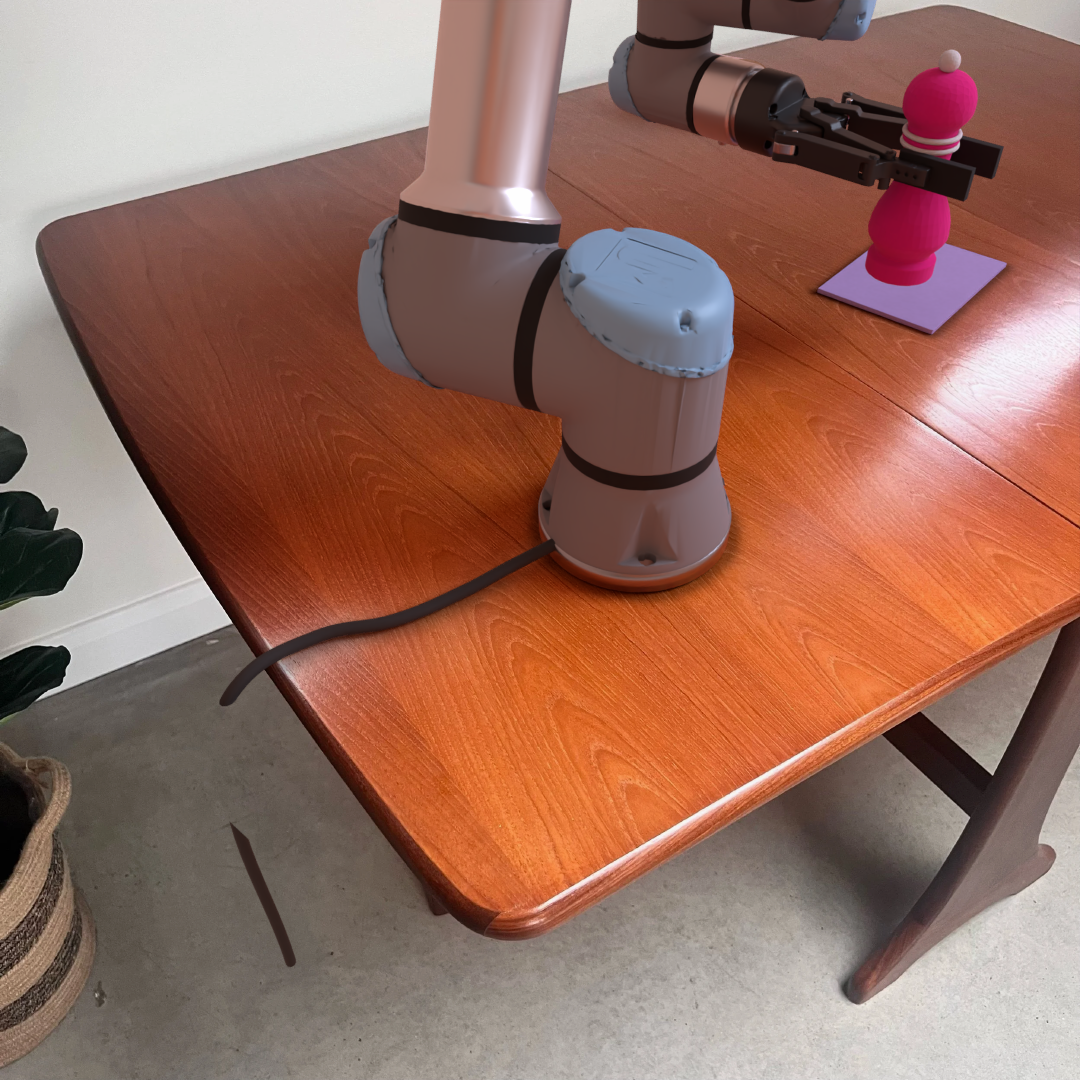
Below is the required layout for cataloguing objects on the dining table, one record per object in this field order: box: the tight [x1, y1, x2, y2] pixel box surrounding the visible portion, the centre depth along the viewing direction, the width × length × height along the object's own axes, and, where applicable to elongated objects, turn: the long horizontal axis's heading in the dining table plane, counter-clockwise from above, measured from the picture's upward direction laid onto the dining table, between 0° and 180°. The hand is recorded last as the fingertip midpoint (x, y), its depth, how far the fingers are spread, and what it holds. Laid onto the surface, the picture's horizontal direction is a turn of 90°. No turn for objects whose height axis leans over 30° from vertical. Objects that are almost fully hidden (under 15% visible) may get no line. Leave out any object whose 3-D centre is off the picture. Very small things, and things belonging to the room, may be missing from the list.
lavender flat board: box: [816, 242, 1008, 335], centre depth 112 cm, size 18×13×1 cm
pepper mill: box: [865, 49, 979, 286], centre depth 92 cm, size 7×7×20 cm
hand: (983, 173), depth 89 cm, fingers closed on pepper mill, 5 cm apart
